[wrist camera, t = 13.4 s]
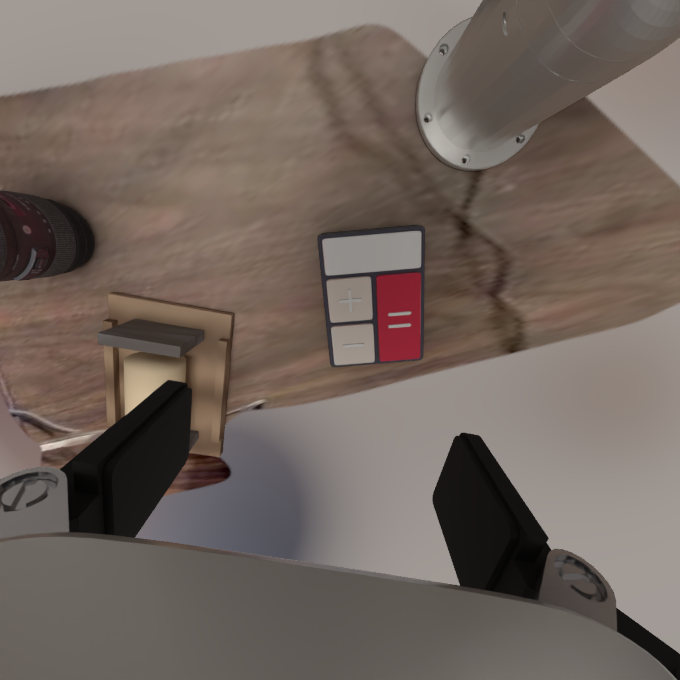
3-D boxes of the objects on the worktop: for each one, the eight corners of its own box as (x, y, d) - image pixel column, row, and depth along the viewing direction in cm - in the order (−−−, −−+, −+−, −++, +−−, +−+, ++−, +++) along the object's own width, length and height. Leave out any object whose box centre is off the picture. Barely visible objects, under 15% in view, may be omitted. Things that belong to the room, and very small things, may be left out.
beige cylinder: (172, 347, 39) (115, 354, 34) (196, 365, 36) (136, 376, 31) (170, 416, 42) (117, 432, 37) (192, 439, 38) (137, 459, 34)
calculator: (330, 370, 36) (316, 234, 31) (330, 355, 40) (318, 233, 35) (425, 363, 36) (427, 225, 31) (416, 349, 40) (416, 224, 35)
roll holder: (113, 292, 37) (64, 303, 30) (234, 313, 37) (212, 329, 31) (118, 436, 42) (77, 473, 36) (222, 452, 43) (201, 490, 37)
